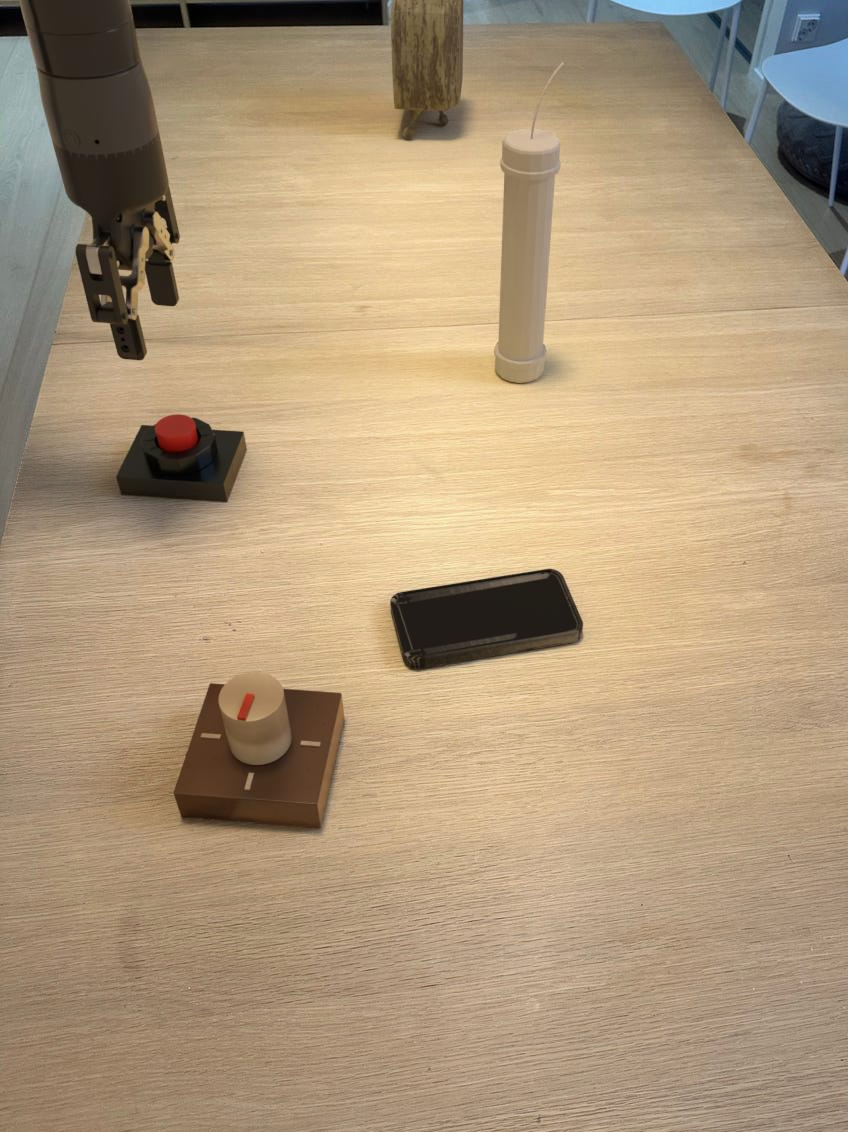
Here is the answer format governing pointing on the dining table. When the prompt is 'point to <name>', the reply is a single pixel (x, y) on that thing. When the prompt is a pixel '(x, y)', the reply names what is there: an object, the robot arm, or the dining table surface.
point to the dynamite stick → (525, 249)
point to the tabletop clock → (426, 56)
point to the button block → (183, 466)
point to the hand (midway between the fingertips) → (150, 329)
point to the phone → (484, 618)
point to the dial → (255, 718)
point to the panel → (263, 766)
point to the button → (176, 433)
